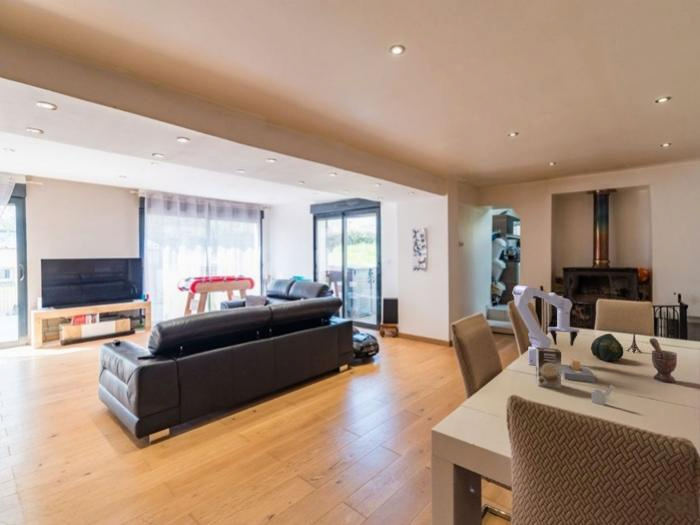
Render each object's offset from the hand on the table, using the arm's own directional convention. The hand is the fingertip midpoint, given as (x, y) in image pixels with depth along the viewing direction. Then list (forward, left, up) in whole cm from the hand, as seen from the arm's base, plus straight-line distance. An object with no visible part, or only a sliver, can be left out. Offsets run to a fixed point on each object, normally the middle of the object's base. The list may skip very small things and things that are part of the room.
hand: (563, 345), depth 188 cm
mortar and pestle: (+37, -16, -10) cm, 41 cm away
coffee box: (-12, -41, -10) cm, 44 cm away
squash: (+23, +15, -10) cm, 29 cm away
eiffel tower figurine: (+43, +39, -10) cm, 59 cm away
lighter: (+5, -56, -10) cm, 57 cm away
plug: (+2, -21, -8) cm, 22 cm away
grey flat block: (+2, -23, -9) cm, 25 cm away
